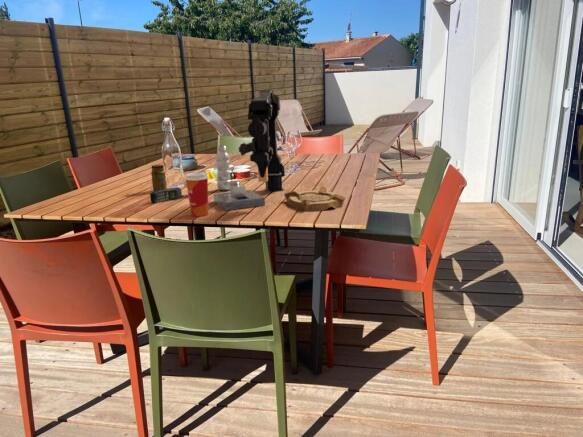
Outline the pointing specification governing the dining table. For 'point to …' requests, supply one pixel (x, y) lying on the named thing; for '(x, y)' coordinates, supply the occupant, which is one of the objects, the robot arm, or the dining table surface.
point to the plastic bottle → (223, 168)
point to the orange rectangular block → (263, 177)
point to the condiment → (158, 178)
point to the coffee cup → (198, 193)
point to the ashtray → (314, 200)
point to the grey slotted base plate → (238, 197)
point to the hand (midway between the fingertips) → (263, 176)
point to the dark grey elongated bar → (165, 195)
